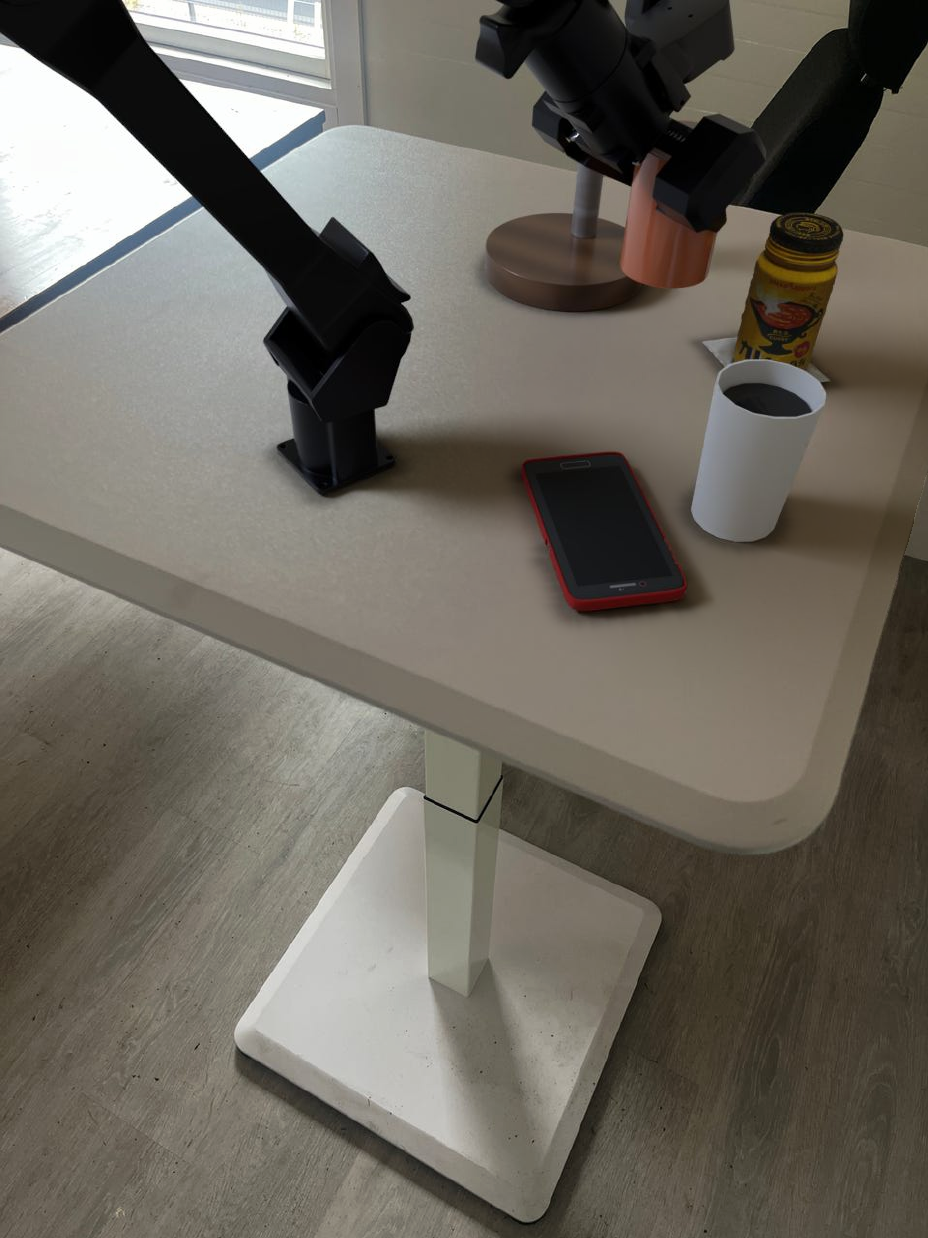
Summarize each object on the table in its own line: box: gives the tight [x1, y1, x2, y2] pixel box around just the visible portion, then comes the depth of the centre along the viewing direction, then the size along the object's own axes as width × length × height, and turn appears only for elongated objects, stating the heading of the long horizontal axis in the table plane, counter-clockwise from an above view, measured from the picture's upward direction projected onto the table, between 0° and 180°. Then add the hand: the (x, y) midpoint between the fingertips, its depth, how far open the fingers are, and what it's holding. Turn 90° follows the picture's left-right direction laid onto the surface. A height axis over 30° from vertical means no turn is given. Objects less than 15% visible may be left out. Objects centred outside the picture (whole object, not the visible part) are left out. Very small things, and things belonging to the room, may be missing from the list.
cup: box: [620, 119, 718, 290], centre depth 68 cm, size 7×7×10 cm
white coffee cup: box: [690, 359, 827, 543], centre depth 61 cm, size 7×7×10 cm
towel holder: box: [484, 162, 643, 312], centre depth 82 cm, size 15×15×17 cm
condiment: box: [701, 211, 844, 383], centre depth 74 cm, size 7×8×12 cm
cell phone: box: [520, 450, 688, 612], centre depth 62 cm, size 8×15×1 cm, turn 10°
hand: (689, 208), depth 69 cm, fingers closed on cup, 7 cm apart
